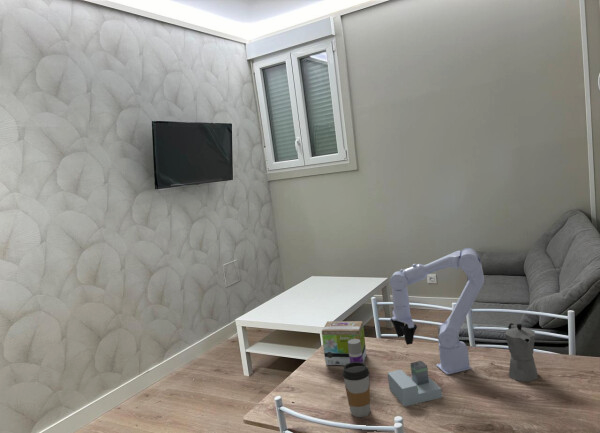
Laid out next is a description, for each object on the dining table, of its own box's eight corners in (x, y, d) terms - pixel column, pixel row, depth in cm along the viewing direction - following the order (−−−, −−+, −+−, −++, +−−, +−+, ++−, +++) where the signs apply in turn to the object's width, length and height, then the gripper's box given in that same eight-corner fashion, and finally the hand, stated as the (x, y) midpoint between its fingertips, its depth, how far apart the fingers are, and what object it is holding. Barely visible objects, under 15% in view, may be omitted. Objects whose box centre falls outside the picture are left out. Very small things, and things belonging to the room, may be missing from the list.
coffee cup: (345, 407, 149) (339, 363, 147) (370, 402, 150) (365, 359, 148) (350, 421, 141) (344, 375, 139) (376, 416, 141) (371, 370, 139)
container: (365, 384, 162) (360, 343, 160) (351, 384, 163) (346, 344, 161) (365, 377, 166) (361, 338, 165) (353, 378, 167) (348, 338, 166)
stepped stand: (424, 380, 159) (422, 364, 158) (442, 397, 147) (440, 379, 146) (389, 389, 156) (387, 372, 156) (404, 406, 145) (402, 388, 144)
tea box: (325, 366, 180) (320, 330, 178) (331, 354, 189) (326, 320, 188) (363, 366, 175) (358, 329, 174) (367, 354, 185) (362, 319, 183)
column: (423, 377, 155) (421, 360, 154) (429, 382, 151) (427, 365, 150) (412, 379, 154) (410, 363, 154) (417, 385, 150) (415, 368, 150)
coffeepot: (547, 383, 147) (543, 330, 144) (516, 386, 147) (512, 333, 145) (526, 362, 162) (522, 313, 160) (499, 365, 163) (494, 316, 160)
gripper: (383, 301, 174) (387, 335, 175) (399, 312, 160) (403, 349, 161) (400, 297, 175) (404, 331, 177) (418, 308, 161) (421, 345, 163)
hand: (405, 340), depth 169 cm, fingers open, 7 cm apart
